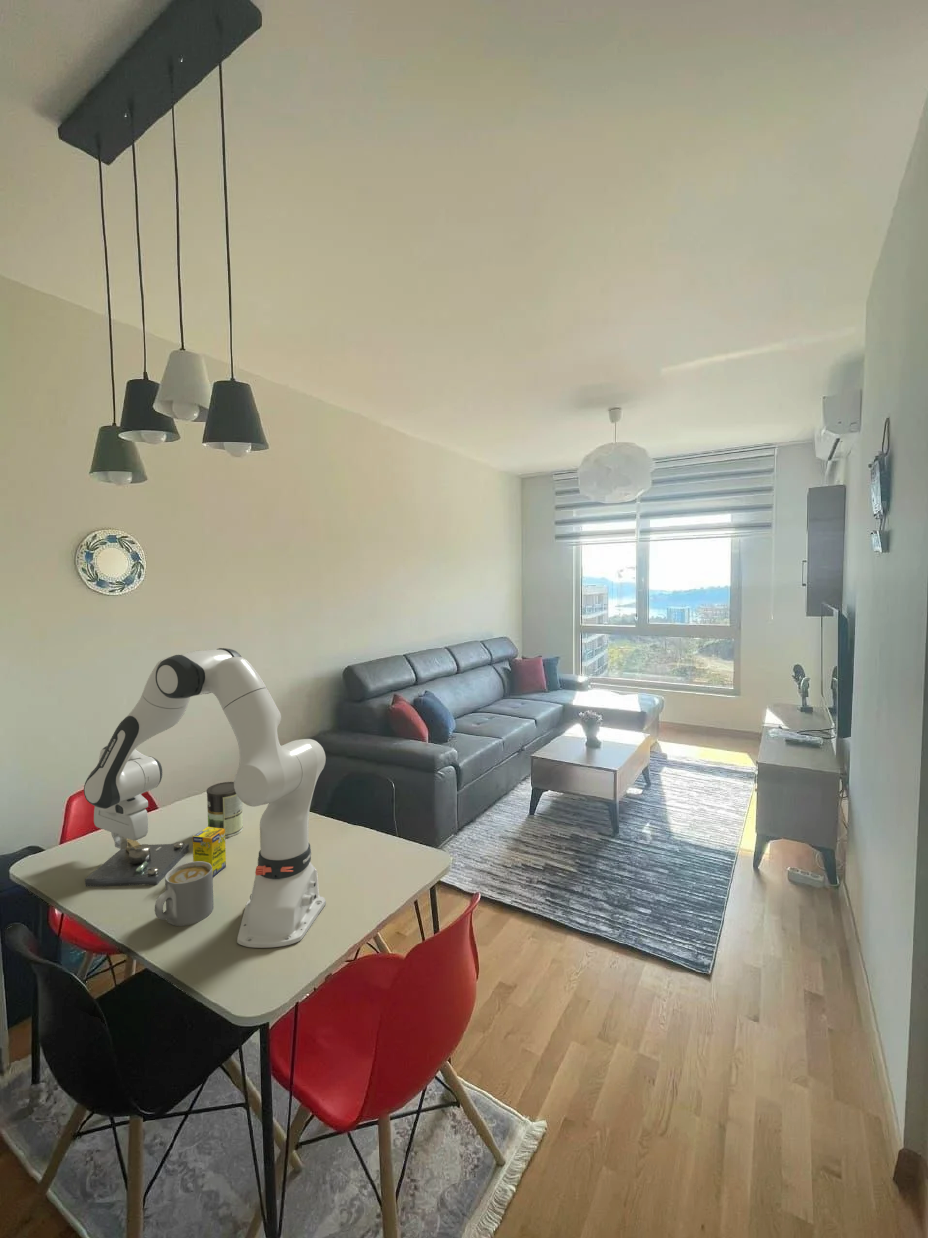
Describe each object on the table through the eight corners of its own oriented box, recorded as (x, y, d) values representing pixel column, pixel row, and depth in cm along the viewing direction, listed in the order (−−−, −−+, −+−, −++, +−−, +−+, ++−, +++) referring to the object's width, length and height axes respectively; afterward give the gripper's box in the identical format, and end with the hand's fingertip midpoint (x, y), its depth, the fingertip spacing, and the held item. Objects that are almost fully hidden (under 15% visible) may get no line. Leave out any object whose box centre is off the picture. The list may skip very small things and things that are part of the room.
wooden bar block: (153, 858, 148) (152, 848, 148) (133, 866, 145) (132, 854, 144) (138, 844, 157) (137, 833, 157) (118, 850, 153) (118, 839, 153)
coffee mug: (199, 895, 135) (198, 857, 134) (221, 909, 129) (220, 869, 128) (142, 923, 124) (141, 881, 123) (164, 939, 118) (162, 895, 118)
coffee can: (205, 841, 164) (203, 795, 163) (210, 826, 173) (209, 783, 172) (242, 836, 167) (240, 791, 166) (244, 822, 176) (243, 780, 176)
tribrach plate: (157, 884, 140) (156, 872, 140) (85, 886, 139) (84, 874, 139) (189, 850, 158) (188, 839, 158) (125, 852, 157) (125, 841, 157)
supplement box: (212, 878, 143) (211, 838, 142) (192, 876, 144) (191, 836, 143) (226, 866, 149) (225, 828, 148) (207, 864, 150) (206, 826, 149)
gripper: (86, 796, 153) (88, 844, 154) (128, 810, 144) (131, 861, 145) (109, 789, 159) (111, 835, 160) (151, 802, 149) (153, 850, 150)
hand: (121, 847), depth 152 cm, fingers closed
